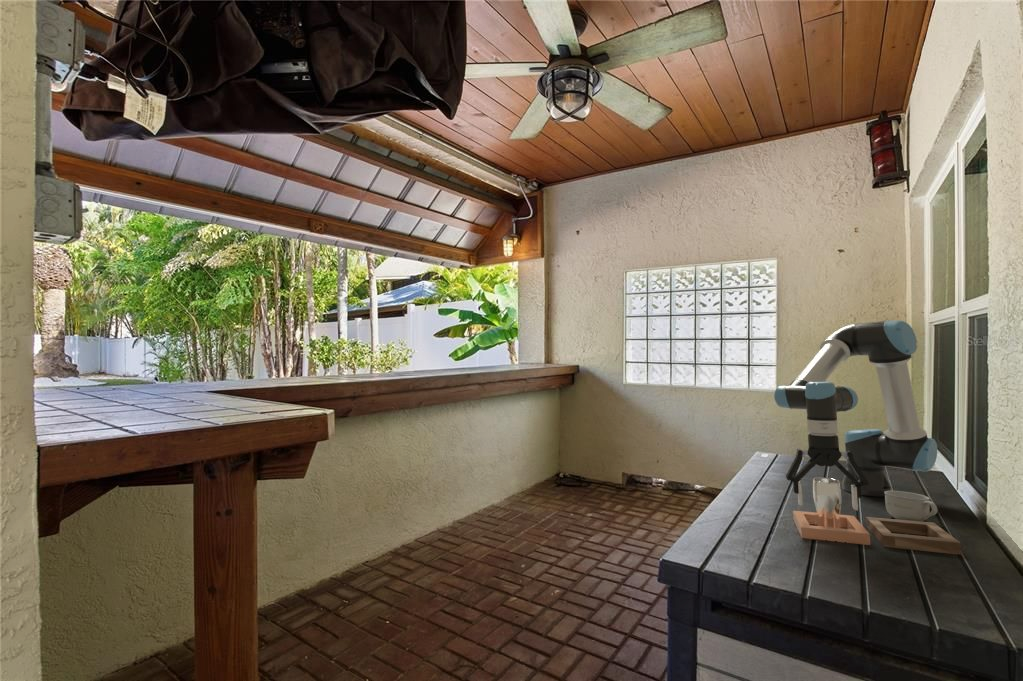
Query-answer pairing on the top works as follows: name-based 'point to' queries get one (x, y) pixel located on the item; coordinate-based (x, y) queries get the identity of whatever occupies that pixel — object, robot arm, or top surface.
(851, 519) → the terracotta holder
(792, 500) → the top surface
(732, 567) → the top surface
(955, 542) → the walnut holder
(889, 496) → the teacup
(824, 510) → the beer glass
